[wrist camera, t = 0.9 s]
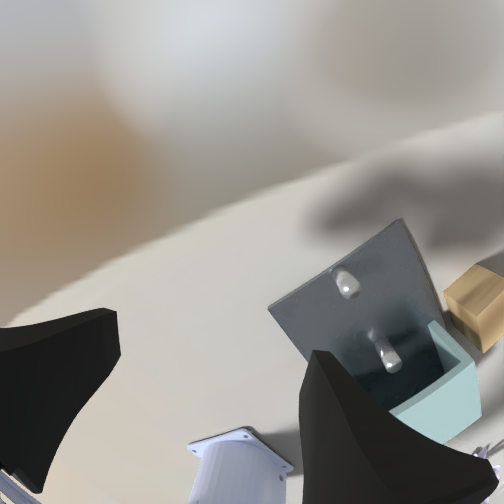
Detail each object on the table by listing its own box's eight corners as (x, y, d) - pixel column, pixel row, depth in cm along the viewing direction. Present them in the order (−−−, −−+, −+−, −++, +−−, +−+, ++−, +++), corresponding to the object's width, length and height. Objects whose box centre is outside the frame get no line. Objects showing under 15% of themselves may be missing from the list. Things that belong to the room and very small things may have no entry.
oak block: (484, 298, 18) (516, 320, 13) (453, 325, 18) (483, 353, 13) (474, 263, 17) (511, 281, 12) (442, 291, 18) (476, 316, 13)
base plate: (457, 372, 19) (473, 392, 16) (364, 430, 21) (371, 455, 18) (397, 219, 17) (420, 226, 14) (267, 306, 19) (265, 330, 16)
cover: (452, 376, 19) (481, 416, 13) (370, 427, 21) (384, 476, 15) (434, 319, 18) (474, 360, 12) (336, 382, 20) (349, 440, 14)
